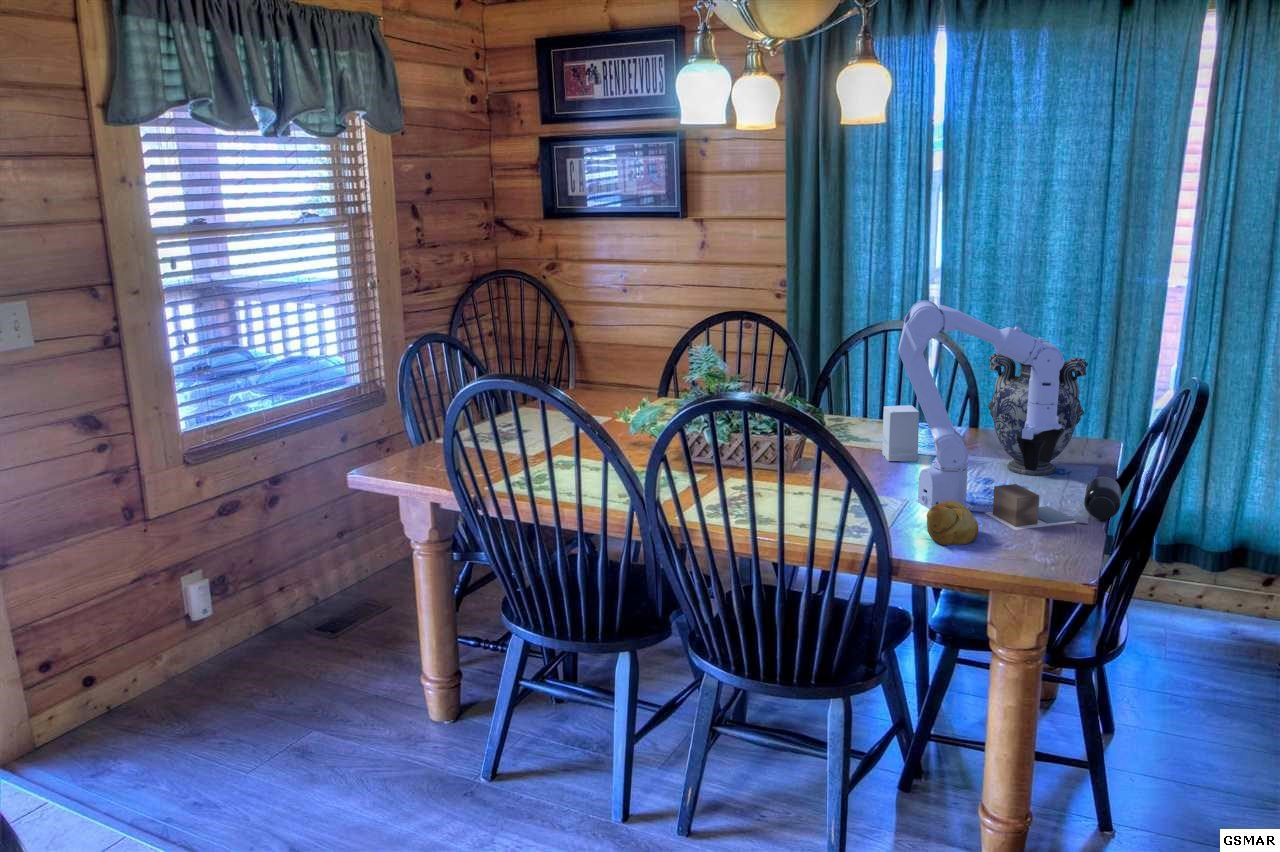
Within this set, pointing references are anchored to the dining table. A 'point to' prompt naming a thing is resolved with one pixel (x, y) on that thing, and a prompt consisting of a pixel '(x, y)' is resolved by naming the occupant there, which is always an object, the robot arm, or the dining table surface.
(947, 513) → the bread roll
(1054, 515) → the pad
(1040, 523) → the board
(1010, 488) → the walnut block
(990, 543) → the dining table surface
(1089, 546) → the dining table surface
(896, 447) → the supplement box
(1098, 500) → the supplement bottle
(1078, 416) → the decorative vase
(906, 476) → the dining table surface
